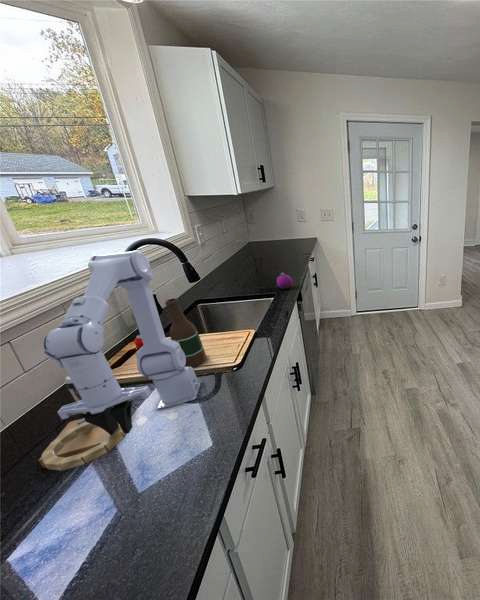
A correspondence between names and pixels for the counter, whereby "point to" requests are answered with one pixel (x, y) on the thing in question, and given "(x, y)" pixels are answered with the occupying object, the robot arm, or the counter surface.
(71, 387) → the small jar
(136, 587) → the counter surface
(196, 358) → the beer bottle
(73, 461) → the hoop
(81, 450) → the stand
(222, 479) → the counter surface
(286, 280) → the christmas ornament
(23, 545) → the counter surface
